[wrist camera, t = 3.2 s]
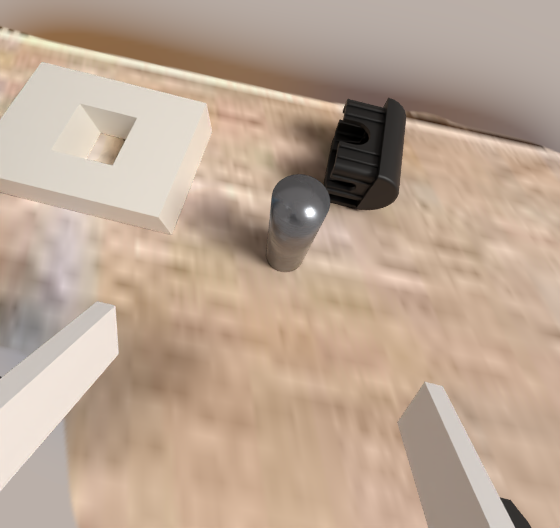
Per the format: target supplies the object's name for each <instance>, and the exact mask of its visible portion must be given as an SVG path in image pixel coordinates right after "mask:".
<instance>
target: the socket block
mask: <svg viewBox="0 0 560 528" xmlns="http://www.w3.org/2000/svg"><path fill="white" fill-rule="evenodd" d="M101 133H102V134H106V135H110V136H114V137H118V138H122V139H126V140H125V142H124V144H123V146H122V148H121V150H120V152H119V154H118V156H117V158H116V160H115V162H114V164H113V166H112V165H108V164H104V163H100V162H96V161H92V160H88V159H87V157H88V156H89V154H90V152H91V150H92V148H93V147H94V145H95V143H96V141H97V139H98V138H99V136H100V134H101ZM211 134H212V128H211V123H210V118H209V113H208V108H207V103H203V102H199V101H195V100H191V99H187V98H183V97H180V96H176V95H172V94H168V93H164V92H160V91H156V90H152V89H148V88H144V87H140V86H136V85H132V84H128V83H124V82H120V81H116V80H112V79H108V78H104V77H100V76H96V75H92V74H88V73H84V72H80V71H76V70H72V69H68V68H64V67H60V66H56V65H52V64H48V63H44V62H41V64H40V65H39V66H38V68H37V69H36V70H35V72H34V73H33V75H32V76H31V77H30V79H29V80H28V82H27V83H26V84H25V86H24V87H23V88H22V90H21V91H20V93H19V94H18V95H17V97H16V98H15V100H14V101H13V102H12V104H11V105H10V107H9V108H8V109H7V111H6V112H5V113H4V115H3V116H2V118H1V119H0V192H2V193H4V194H8V195H12V196H16V197H20V198H24V199H28V200H32V201H36V202H40V203H44V204H48V205H52V206H56V207H60V208H64V209H69V210H73V211H77V212H81V213H85V214H89V215H93V216H97V217H101V218H105V219H109V220H113V221H117V222H121V223H125V224H129V225H133V226H137V227H141V228H145V229H149V230H153V231H157V232H161V233H165V234H169V235H172V233H173V230H174V228H175V225H176V223H177V220H178V218H179V215H180V213H181V210H182V207H183V205H184V202H185V200H186V197H187V195H188V192H189V190H190V187H191V185H192V182H193V180H194V177H195V174H196V172H197V169H198V167H199V164H200V162H201V159H202V157H203V154H204V152H205V149H206V146H207V144H208V141H209V139H210V136H211Z"/></svg>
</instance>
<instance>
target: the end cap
mask: <svg viewBox="0 0 560 528" xmlns="http://www.w3.org/2000/svg"><path fill="white" fill-rule="evenodd" d="M343 113H344V117H343V120H339V123H338V126H337V128H336V132H335V136H334V139H333V141H332V145H331V150H330V155H329V160H328V165H327V170H326V175H325V180H324V187H325V188H326V190H327V191H328V194H329V197H330V203H334V204H338V205H343V206H347V207H351V208H356V209H360V210H375V209H380V208H383V207H386V206H388V205H390V204H391V203H393V202H394V201H395V200H396V198H397V197H398V194H399V185H400V175H401V165H402V154H403V144H404V134H405V124H406V114H405V110H404V109H403V107H402V106H401V105H400V104H399V103H398V102H397V101H395V100H393V99H390V98H388V99H387V101H386V103H385V105H384V107H383V108H382V107H378V106H374V105H370V104H366V103H362V102H358V101H354V100H350V99H347V101H346V104H345V106H344V109H343Z"/></svg>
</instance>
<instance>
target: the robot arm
mask: <svg viewBox="0 0 560 528" xmlns="http://www.w3.org/2000/svg"><path fill="white" fill-rule="evenodd" d="M118 354H119V352H118V337H117V322H116V307H115V305H110V304H106V303H102V302H98V301H97V302H96V303H94V304H93V305H92V306H91V307H89V308H88V309H87V310H86V311H84V312H83V313H82V314H81V315H79V316H78V317H77V318H76V319H74V320H73V321H72V322H71V323H69V324H68V325H67V326H66V327H64V328H63V329H62V330H61V331H59V332H58V333H57V334H56V335H54V336H53V337H52V338H51V339H49V340H48V341H47V342H46V343H44V344H43V345H42V346H41V347H39V348H38V349H37V350H36V351H34V352H33V353H32V354H31V355H29V356H28V357H27V358H26V359H24V360H23V361H22V362H21V363H20V364H18V365H17V366H16V367H14V368H13V369H12V370H11V371H9V372H8V373H7V374H6V375H4V376H3V377H0V491H1V490H2V489H3V488H4V486H5V485H6V484H7V483H8V482H9V481H10V479H11V478H12V477H13V476H14V475H15V474H16V473H17V471H18V470H19V469H20V468H21V467H22V465H23V464H24V463H25V462H26V461H27V460H28V459H29V457H30V456H31V455H32V454H33V453H34V451H36V449H37V448H38V447H39V446H40V445H41V444H42V442H43V441H44V440H45V439H46V438H47V437H48V435H49V434H50V433H51V432H52V431H53V430H54V428H55V427H56V426H57V425H58V424H59V423H60V421H61V420H62V419H63V418H64V417H65V416H66V415H67V413H68V412H69V411H70V410H71V409H72V408H73V406H74V405H75V404H76V403H77V402H78V401H79V399H80V398H81V397H82V396H83V395H84V394H85V392H86V391H87V390H88V389H89V388H90V387H91V385H92V384H93V383H94V382H95V381H96V380H97V378H98V377H99V376H100V375H101V374H102V373H103V372H104V370H105V369H106V368H107V367H108V366H109V365H110V363H111V362H112V361H113V360H114V359H115V358H116V356H117V355H118ZM397 423H398V426H399V430H400V433H401V436H402V440H403V443H404V447H405V450H406V453H407V457H408V460H409V464H410V467H411V470H412V474H413V477H414V481H415V484H416V487H417V491H418V494H419V498H420V501H421V504H422V508H423V511H424V515H425V518H426V521H427V525H428V528H531V526H530V525H529V523H528V522H527V520H526V519H525V518H524V517H523V515H522V514H521V513H520V511H519V510H518V509H517V508H516V506H515V505H514V504H513V503H512V501H511V500H508V499H504V498H500V497H499V495H498V493H497V491H496V489H495V487H494V485H493V483H492V482H491V480H490V478H489V476H488V474H487V472H486V470H485V468H484V466H483V464H482V462H481V460H480V458H479V456H478V454H477V452H476V450H475V448H474V446H473V444H472V442H471V441H470V439H469V437H468V435H467V433H466V431H465V429H464V427H463V425H462V423H461V421H460V419H459V417H458V415H457V413H456V411H455V409H454V407H453V405H452V403H451V401H450V400H449V398H448V396H447V394H446V392H445V390H444V388H443V386H440V385H436V384H432V383H428V382H424V384H423V385H422V387H421V388H420V390H419V391H418V393H417V394H416V395H415V397H414V398H413V400H412V401H411V403H410V404H409V406H408V407H407V409H406V410H405V412H404V413H403V415H402V416H401V418H400V419H399V420H398V422H397Z"/></svg>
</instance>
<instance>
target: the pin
mask: <svg viewBox="0 0 560 528" xmlns="http://www.w3.org/2000/svg"><path fill="white" fill-rule="evenodd" d="M329 207H330V197H329V194H328V191H327V190H326V188H325V187H324V185H323V184H322V183H321V182H319V181H318V180H317V179H315V178H313V177H311V176H307V175H301V174H296V175H291V176H288V177H285V178H284V179H282V180H281V181H279V182H278V183H277V185H276V186H275V188H274V190H273V193H272V200H271V210H270V220H269V230H268V240H267V250H266V257H267V260H268V262H269V264H270V265H271V266H272V267H273V268H274V269H276V270H278V271H281V272H291V271H293V270H295V269H297V268H298V267H299V266H300V265H301V263H302V261H303V259H304V257H305V256H306V254H307V252H308V250H309V248H310V246H311V244H312V242H313V240H314V238H315V236H316V234H317V232H318V230H319V228H320V226H321V225H322V223H323V221H324V219H325V217H326V215H327V213H328V211H329Z"/></svg>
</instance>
